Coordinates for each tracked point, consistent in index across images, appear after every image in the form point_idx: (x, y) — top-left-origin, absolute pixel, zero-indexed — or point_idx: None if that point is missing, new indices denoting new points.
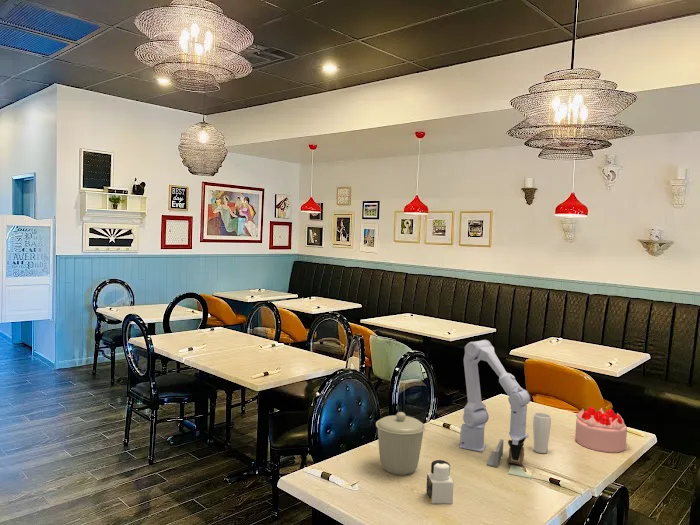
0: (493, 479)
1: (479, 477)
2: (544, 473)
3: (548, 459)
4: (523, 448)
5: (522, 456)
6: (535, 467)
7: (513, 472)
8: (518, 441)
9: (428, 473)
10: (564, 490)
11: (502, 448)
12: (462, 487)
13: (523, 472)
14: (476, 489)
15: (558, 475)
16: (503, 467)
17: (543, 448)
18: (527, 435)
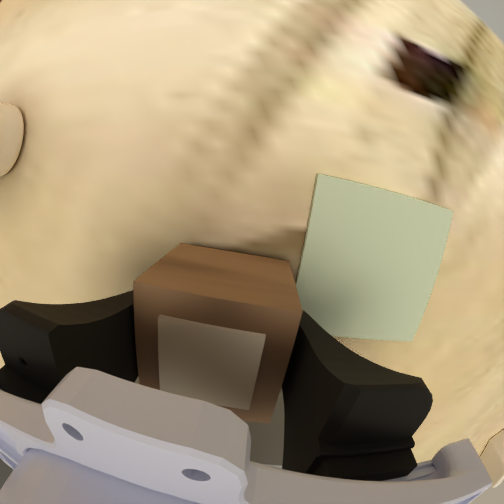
0: (452, 383)
1: (431, 422)
2: (341, 99)
3: (82, 78)
4: (173, 294)
5: (295, 289)
6: (248, 150)
7: (402, 316)
8: (357, 468)
9: (497, 485)
10: (494, 69)
11: None
12: (477, 430)
13: (394, 254)
14: (495, 402)
15: (334, 22)
16: None
17: (4, 118)
18: (166, 463)
